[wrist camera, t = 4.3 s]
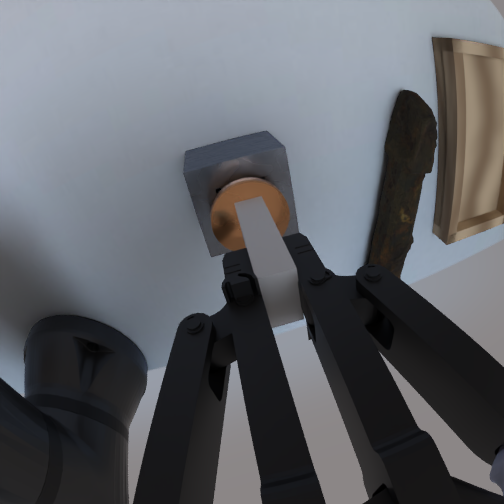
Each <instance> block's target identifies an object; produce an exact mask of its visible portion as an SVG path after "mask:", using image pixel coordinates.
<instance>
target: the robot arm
mask: <svg viewBox="0 0 504 504" xmlns="http://www.w3.org/2000/svg"><path fill="white" fill-rule="evenodd" d="M234 205H235V208H236V212H237V216H238V220H239V224H240V227H241V231H242V235H243V239H244V243H245V246H246V248H243V249H239V250H236V251H232V252H228V253H226V254H225V256H224V258H223V260H222V262H223V268H224V274H225V279H224V281H223V282H222V287H221V288H222V290H223V293H224V296H225V299H226V302H227V303H226V305H225V306H224V308H223V309H221V310H220V311H219V312H217V313H216V314H214V315H212V316H210V317H209V316H208V315H206V314H204V313H196V314H191V315H189V316H187V317H186V318H184V319H183V320H182V321H181V322H180V324H179V326H178V329H177V332H176V336H175V339H174V343H173V346H172V349H171V353H170V357H169V360H168V364H167V367H166V371H165V375H164V378H163V382H162V385H161V390H160V393H159V397H158V401H157V405H156V408H155V412H154V416H153V420H152V424H151V428H150V432H149V436H148V440H147V444H146V448H145V452H144V457H143V461H142V465H141V469H140V474H139V478H138V483H137V487H136V492H135V496H134V501H133V504H213V499H214V490H215V483H216V475H217V467H218V459H219V452H220V444H221V436H222V428H223V421H224V413H225V405H226V397H227V390H228V382H229V375H230V367H231V365H230V364H231V363H232V362H234V361H236V360H237V362H238V368H239V374H240V379H241V385H242V390H243V395H244V401H245V406H246V411H247V416H248V421H249V426H250V431H251V436H252V441H253V446H254V451H255V456H256V460H257V465H258V470H259V475H260V480H261V488H260V491H261V499H262V504H326V503H325V500H324V497H323V494H322V491H321V487H320V484H319V480H318V478H317V475H316V472H315V469H314V466H313V463H312V460H311V456H310V453H309V450H308V447H307V443H306V440H305V437H304V433H303V430H302V427H301V423H300V420H299V417H298V413H297V411H296V407H295V404H294V401H293V397H292V394H291V390H290V387H289V384H288V380H287V377H286V374H285V370H284V368H283V364H282V360H281V357H280V354H279V350H278V347H277V344H276V341H275V337H274V334H273V330H272V328H274V327H278V326H281V325H285V324H288V323H292V322H295V321H299V320H302V319H304V316H305V318H306V322H307V330H308V337H309V340H310V339H312V341H313V344H314V346H315V349H316V352H317V354H318V357H319V359H320V362H321V364H322V367H323V369H324V372H325V374H326V377H327V379H328V382H329V385H330V387H331V390H332V392H333V395H334V398H335V400H336V403H337V406H338V408H339V411H340V413H341V416H342V419H343V421H344V424H345V427H346V429H347V432H348V434H349V437H350V440H351V442H352V445H353V448H354V451H355V453H356V456H357V458H358V461H359V464H360V467H361V470H362V474H363V481H364V485H365V488H366V491H367V494H368V497H369V500H368V501H366V502H365V503H363V504H504V367H503V366H502V365H501V364H499V362H497V361H496V360H495V359H494V358H493V357H492V356H491V355H490V354H489V353H488V352H487V351H485V350H484V349H483V348H482V347H481V346H480V345H479V344H478V343H476V342H475V341H474V340H473V339H472V338H471V337H470V336H468V335H467V334H466V333H465V332H464V331H462V330H461V329H460V328H459V327H458V326H457V325H456V324H454V323H453V322H452V321H451V320H450V319H448V318H447V317H446V316H445V315H443V313H441V312H440V311H439V310H438V309H436V308H435V307H434V306H433V305H432V304H431V303H429V302H428V301H427V300H426V299H424V298H423V297H422V296H421V295H419V294H418V293H417V292H416V291H414V290H413V289H412V288H411V287H409V286H408V285H407V284H406V283H404V282H403V281H402V280H401V279H399V278H398V277H397V276H395V275H394V274H393V273H392V272H390V271H389V270H388V269H386V268H385V267H383V266H381V265H377V264H367V265H364V266H362V267H360V268H359V269H358V270H357V272H356V276H338V275H335V274H334V273H333V272H332V271H331V270H329V269H327V268H325V267H324V265H323V263H322V262H321V260H320V258H319V257H318V255H317V253H316V252H315V250H314V248H313V247H312V245H311V243H310V242H309V240H308V238H307V237H306V236H304V235H302V234H301V233H296V234H292V235H288V236H285V237H281V235H280V233H279V230H278V228H277V226H276V224H275V222H274V220H273V218H272V216H271V214H270V212H269V210H268V208H267V206H266V204H265V202H264V200H263V198H262V196H259V197H255V198H251V199H248V200H244V201H240V202H236V203H234ZM303 313H304V316H303ZM379 352H380V353H381V354H382V355H383V356H384V357H385V358H386V359H387V360H388V361H389V362H390V363H391V364H392V365H393V366H394V367H395V369H396V370H397V371H398V372H399V373H400V374H401V375H402V376H403V377H404V378H405V379H406V380H407V381H408V382H409V383H410V385H411V386H412V387H413V388H414V389H415V390H416V391H417V392H418V393H419V394H420V395H421V396H422V397H423V398H424V399H425V401H426V402H427V403H428V404H429V405H430V406H431V407H432V408H433V409H434V410H435V411H436V413H437V414H438V415H439V416H440V417H441V418H442V419H443V420H444V421H445V422H446V423H447V424H448V426H449V427H450V428H451V429H452V430H453V431H454V432H455V433H456V435H457V436H458V437H459V438H460V439H461V440H462V441H463V442H464V443H465V444H466V446H467V447H468V448H469V449H470V450H471V451H472V452H473V453H474V454H476V455H477V456H478V457H479V458H481V459H482V460H483V461H485V462H486V463H488V464H490V465H492V469H491V472H490V480H491V481H492V482H494V483H496V484H497V485H498V486H499V487H500V488H501V489H502V492H503V496H501V495H498V494H496V493H493V492H490V491H487V490H485V489H482V488H479V487H477V486H474V485H472V484H469V483H467V482H465V481H462V480H459V479H457V478H455V477H452V476H450V474H449V472H448V470H447V467H446V465H445V463H444V461H443V459H442V457H441V455H440V452H439V450H438V448H437V446H436V444H435V442H434V440H433V439H432V437H431V436H430V435H429V434H428V433H427V432H426V431H423V430H421V429H420V428H419V427H418V426H417V424H416V422H415V420H414V418H413V416H412V414H411V412H410V410H409V408H408V406H407V404H406V402H405V400H404V398H403V396H402V394H401V392H400V390H399V389H398V386H397V385H396V383H395V381H394V379H393V377H392V375H391V373H390V371H389V370H388V368H387V366H386V364H385V362H384V360H383V358H382V357H381V355H380V353H379ZM24 363H25V382H24V383H25V397H22V396H21V395H20V394H19V393H18V392H16V391H15V390H14V389H13V388H12V387H10V386H9V385H8V384H7V383H6V382H5V381H4V380H2V379H1V378H0V504H129V495H128V434H129V426H130V424H131V422H132V419H133V417H134V415H135V413H136V410H137V408H138V405H139V403H140V400H141V398H142V396H143V395H144V393H145V390H146V385H147V363H146V360H145V358H144V356H143V354H142V353H141V351H140V350H139V349H138V348H137V347H136V345H135V344H134V343H133V342H131V341H130V340H129V339H128V338H126V337H125V336H124V335H122V334H121V333H119V332H118V331H116V330H114V329H112V328H110V327H108V326H106V325H104V324H102V323H99V322H96V321H93V320H90V319H87V318H82V317H77V316H67V315H61V316H52V317H48V318H45V319H43V320H41V321H39V322H38V323H36V324H35V325H34V326H33V328H32V329H31V331H30V333H29V336H28V338H27V341H26V343H25V347H24Z"/></svg>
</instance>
